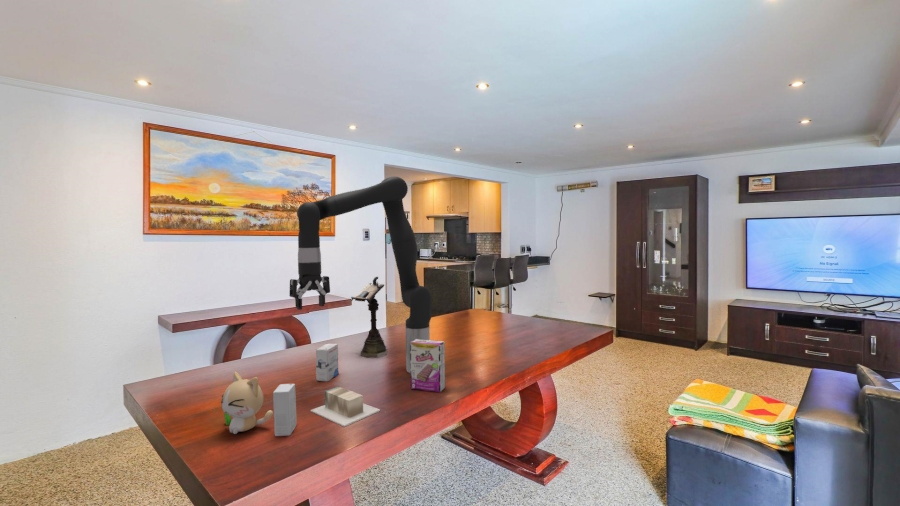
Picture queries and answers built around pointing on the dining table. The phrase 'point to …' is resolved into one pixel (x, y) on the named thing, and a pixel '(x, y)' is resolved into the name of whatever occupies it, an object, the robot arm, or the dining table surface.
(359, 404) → the birch block
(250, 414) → the kitten
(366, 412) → the mat
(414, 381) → the candy bar box
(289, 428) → the skincare box
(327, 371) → the ink box
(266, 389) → the dining table surface
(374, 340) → the book lectern
